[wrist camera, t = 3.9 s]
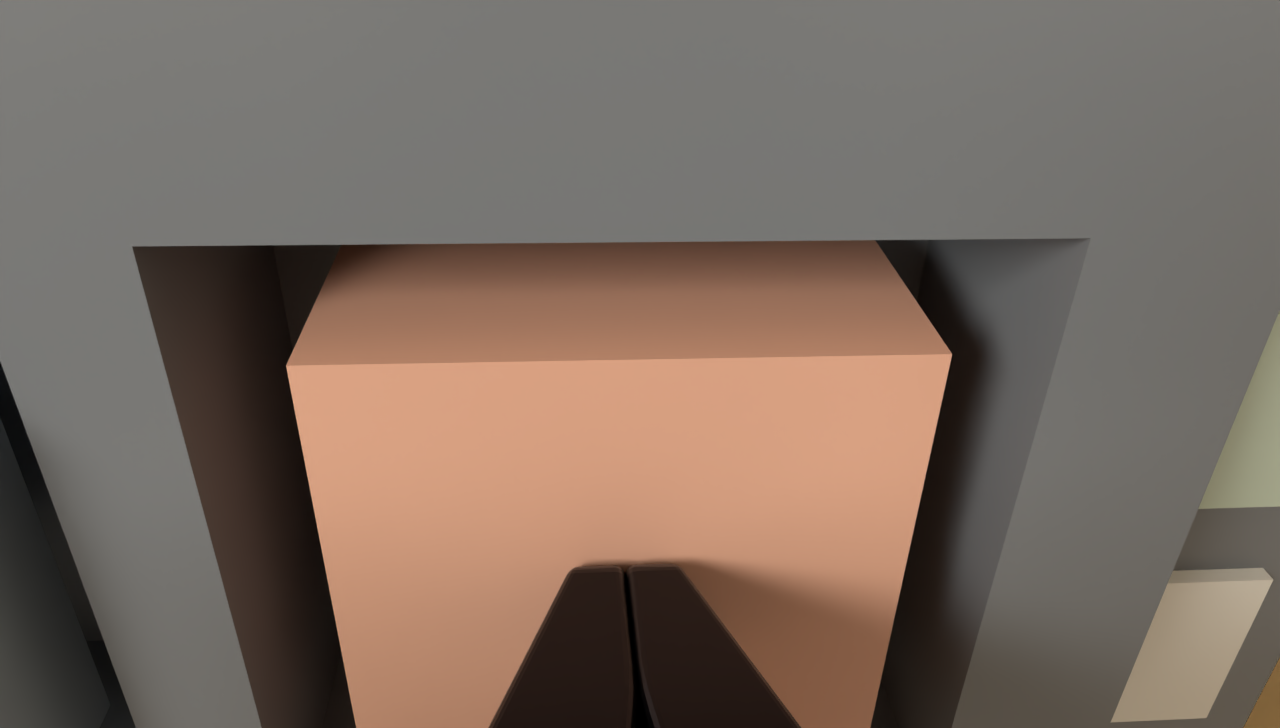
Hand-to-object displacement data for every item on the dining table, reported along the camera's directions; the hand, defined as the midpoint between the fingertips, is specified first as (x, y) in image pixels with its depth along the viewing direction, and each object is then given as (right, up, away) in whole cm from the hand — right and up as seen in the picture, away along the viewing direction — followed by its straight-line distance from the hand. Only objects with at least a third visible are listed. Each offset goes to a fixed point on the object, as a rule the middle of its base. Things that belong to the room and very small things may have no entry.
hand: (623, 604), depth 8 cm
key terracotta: (0, +1, +2) cm, 2 cm away
